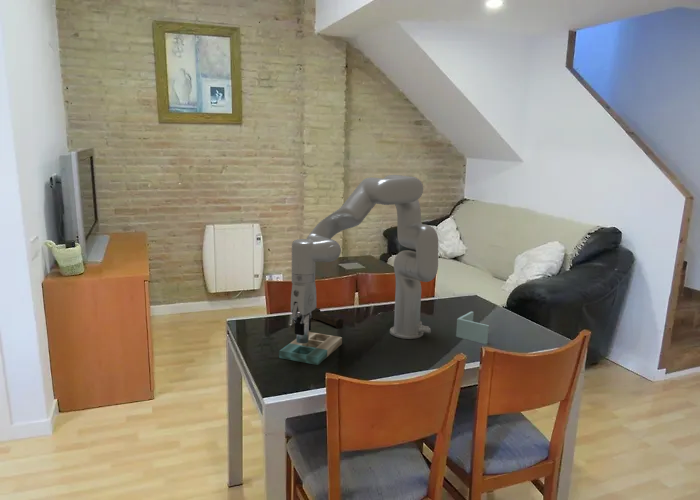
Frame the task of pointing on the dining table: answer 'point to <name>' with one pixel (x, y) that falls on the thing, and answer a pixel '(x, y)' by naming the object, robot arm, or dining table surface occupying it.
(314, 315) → the hand tool
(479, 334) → the right angle wall
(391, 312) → the dining table surface
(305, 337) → the peg
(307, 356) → the hole board
